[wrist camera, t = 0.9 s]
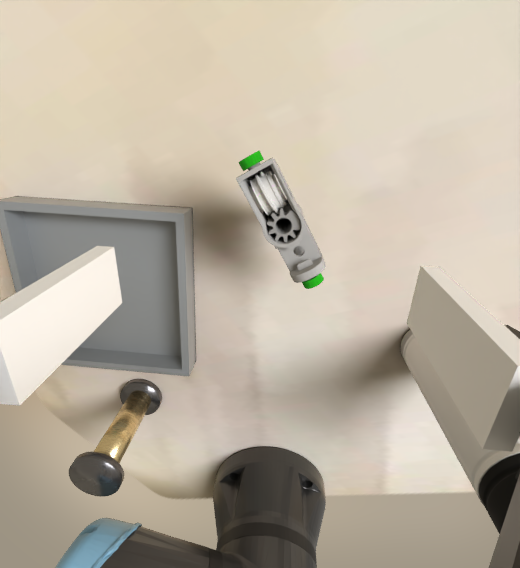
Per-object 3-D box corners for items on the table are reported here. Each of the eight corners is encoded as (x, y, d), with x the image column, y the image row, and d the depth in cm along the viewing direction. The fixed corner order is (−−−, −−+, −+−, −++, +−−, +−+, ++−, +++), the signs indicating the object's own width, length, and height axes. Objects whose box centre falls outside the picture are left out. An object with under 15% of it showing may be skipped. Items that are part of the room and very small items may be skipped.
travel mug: (464, 315, 36) (653, 499, 17) (454, 367, 38) (612, 577, 20) (402, 317, 36) (521, 496, 18) (397, 368, 39) (497, 572, 20)
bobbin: (163, 412, 44) (123, 498, 33) (125, 408, 44) (73, 493, 33) (160, 380, 42) (117, 462, 31) (121, 377, 42) (64, 456, 31)
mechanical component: (294, 255, 34) (296, 296, 25) (245, 161, 31) (227, 168, 22) (321, 242, 34) (333, 279, 25) (273, 144, 31) (267, 145, 21)
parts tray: (196, 360, 40) (189, 376, 38) (50, 347, 41) (32, 361, 38) (192, 207, 33) (183, 213, 31) (16, 196, 34) (-7, 200, 32)
